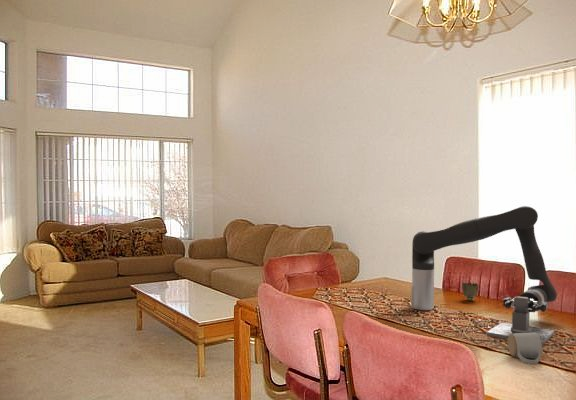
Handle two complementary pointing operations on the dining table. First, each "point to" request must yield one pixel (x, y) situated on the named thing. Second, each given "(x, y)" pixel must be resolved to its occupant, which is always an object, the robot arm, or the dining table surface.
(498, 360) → the dining table surface
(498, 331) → the base plate
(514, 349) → the ceramic mug
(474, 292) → the cup
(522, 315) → the knob
